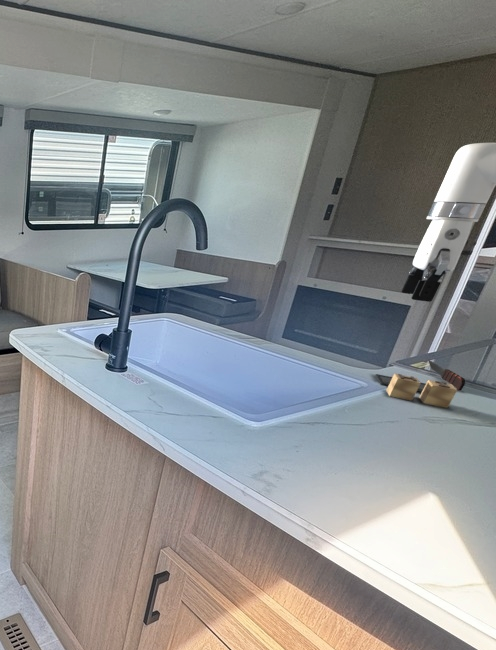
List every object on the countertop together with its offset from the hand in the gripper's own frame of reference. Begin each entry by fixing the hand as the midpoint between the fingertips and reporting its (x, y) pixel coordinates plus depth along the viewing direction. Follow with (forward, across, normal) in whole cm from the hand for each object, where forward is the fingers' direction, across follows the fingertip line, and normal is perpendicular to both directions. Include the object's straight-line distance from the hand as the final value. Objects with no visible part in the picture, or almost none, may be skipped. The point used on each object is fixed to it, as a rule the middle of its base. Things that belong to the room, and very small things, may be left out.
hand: (415, 296), depth 93 cm
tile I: (+23, 0, -11) cm, 25 cm away
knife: (+23, +23, -17) cm, 37 cm away
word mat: (+23, +10, -8) cm, 26 cm away
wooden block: (+23, 0, -5) cm, 23 cm away
